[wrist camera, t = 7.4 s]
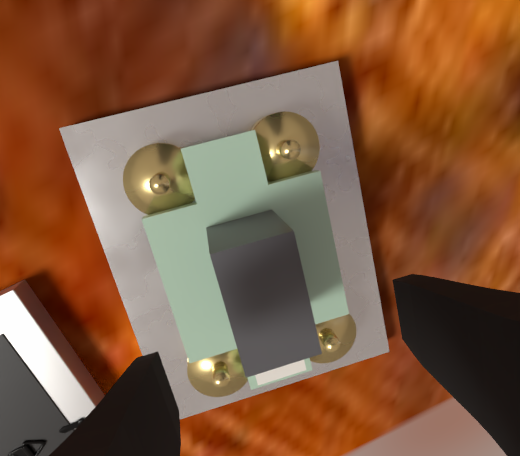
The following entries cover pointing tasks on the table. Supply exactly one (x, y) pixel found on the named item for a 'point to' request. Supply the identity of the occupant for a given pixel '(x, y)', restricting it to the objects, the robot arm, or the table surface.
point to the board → (226, 198)
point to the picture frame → (38, 378)
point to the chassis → (181, 193)
